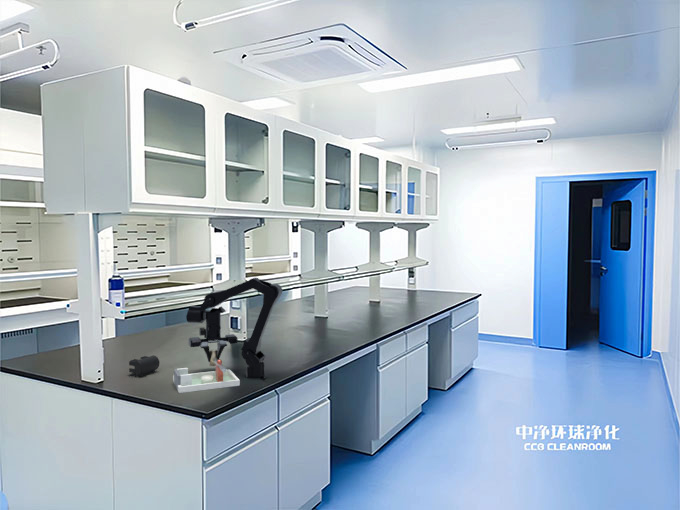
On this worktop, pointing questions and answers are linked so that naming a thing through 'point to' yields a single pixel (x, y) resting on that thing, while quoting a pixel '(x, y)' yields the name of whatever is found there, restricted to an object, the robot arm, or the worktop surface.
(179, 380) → the pitch
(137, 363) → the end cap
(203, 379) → the puck
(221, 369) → the cylinder
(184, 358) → the worktop surface
